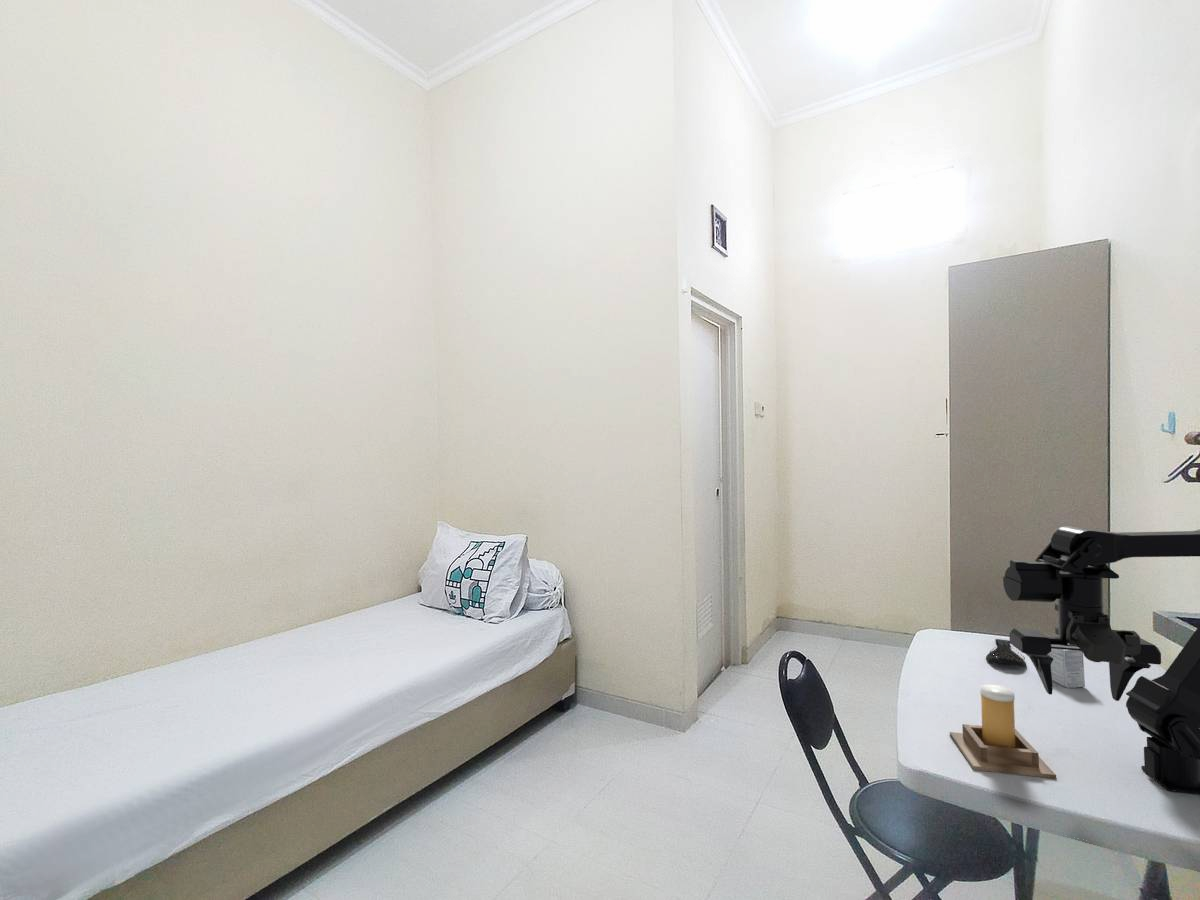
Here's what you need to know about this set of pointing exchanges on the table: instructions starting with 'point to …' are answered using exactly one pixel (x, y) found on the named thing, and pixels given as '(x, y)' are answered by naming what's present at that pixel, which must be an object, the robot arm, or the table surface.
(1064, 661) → the medicine box
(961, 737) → the bottle holder
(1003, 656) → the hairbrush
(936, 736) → the table surface
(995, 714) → the pill bottle
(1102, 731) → the table surface
